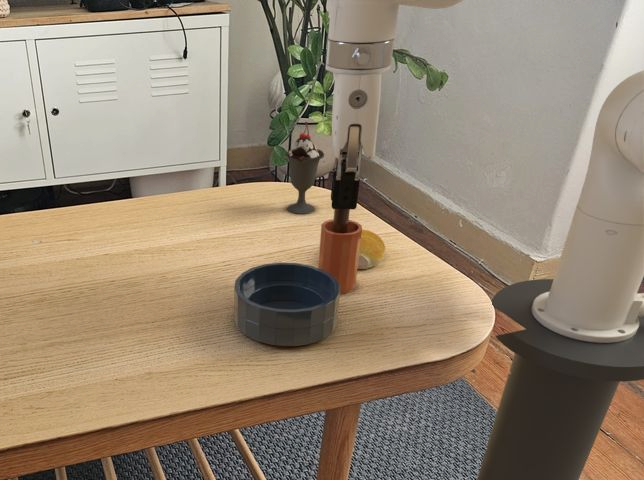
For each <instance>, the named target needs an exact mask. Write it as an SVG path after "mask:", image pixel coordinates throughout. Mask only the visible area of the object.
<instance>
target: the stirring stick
mask: <svg viewBox="0 0 644 480" xmlns="http://www.w3.org/2000/svg"><path fill="white" fill-rule="evenodd" d="M343 163H346V162H343ZM343 163H342V166H343ZM350 210H351V209H333V229H332V232H334V233H347V230H348V221H349V220H350Z"/></svg>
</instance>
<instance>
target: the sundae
mask: <svg viewBox="0 0 644 480" xmlns="http://www.w3.org/2000/svg"><path fill="white" fill-rule="evenodd" d="M304 124H305V129H304V130H303V133H299V138H298V139H296V140H295V141H294V143H293V145H292V148H291V149H289V150H287V151H286V152H285V154H284V156H285V157H287V159H288V165H289V176H290V183H291V185H292V186H293V187H294V189H296V190H297V191H298V196H297V201H296V203H292V204H289V205H288V206H287V207H286V209H287V211H288V212H290V213H292V214H296V215H307V214H311V213H313V212H314V211H315V210H316V208H315V205H312V204H310V203H307V201H306V192H307V191H308V190H309V189H311V188H312V187H313V186H314V184H315V181H316V177H317V173H318V168H319V163H320V160H321V159H323V158H324V157H325V153H324V152H323V150H321V149H320V148H317V146H316V144H315V143H314V142H313V140H311V138H312V137H311V135H310V133H309V127H308V121H305V122H304ZM306 131H307V134H306Z"/></svg>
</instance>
